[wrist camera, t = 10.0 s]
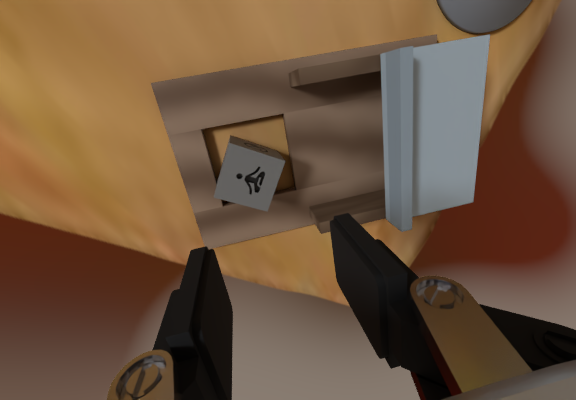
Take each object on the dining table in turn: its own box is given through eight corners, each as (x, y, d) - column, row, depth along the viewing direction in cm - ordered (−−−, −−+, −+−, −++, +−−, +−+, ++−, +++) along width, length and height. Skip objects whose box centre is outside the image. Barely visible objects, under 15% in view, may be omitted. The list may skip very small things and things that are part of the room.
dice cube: (262, 194, 30) (267, 211, 25) (217, 181, 28) (213, 197, 24) (277, 150, 28) (285, 161, 24) (230, 135, 27) (229, 142, 22)
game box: (153, 83, 24) (133, 80, 19) (430, 36, 27) (473, 22, 22) (206, 245, 31) (201, 273, 26) (425, 193, 33) (458, 209, 29)
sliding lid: (380, 54, 21) (400, 48, 19) (481, 36, 22) (513, 28, 20) (385, 218, 27) (401, 231, 24) (466, 199, 28) (490, 209, 25)
